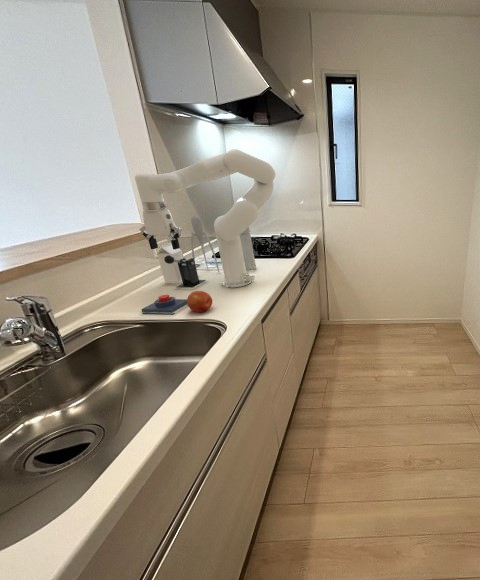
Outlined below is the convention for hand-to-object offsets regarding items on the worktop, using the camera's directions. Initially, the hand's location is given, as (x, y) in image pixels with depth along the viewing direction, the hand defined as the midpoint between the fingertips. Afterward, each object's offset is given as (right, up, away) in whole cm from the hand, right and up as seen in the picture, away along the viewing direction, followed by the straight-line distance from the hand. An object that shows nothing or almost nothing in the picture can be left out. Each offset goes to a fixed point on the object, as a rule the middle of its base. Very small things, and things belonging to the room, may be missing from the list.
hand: (165, 248), depth 130 cm
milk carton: (-9, -14, +20) cm, 26 cm away
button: (+7, -21, -10) cm, 25 cm away
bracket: (+1, -15, +16) cm, 22 cm away
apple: (+22, -26, -11) cm, 36 cm away
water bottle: (+17, -6, +39) cm, 43 cm away
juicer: (+1, -9, +33) cm, 34 cm away
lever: (+1, -6, +7) cm, 9 cm away
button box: (+7, -25, -9) cm, 27 cm away
